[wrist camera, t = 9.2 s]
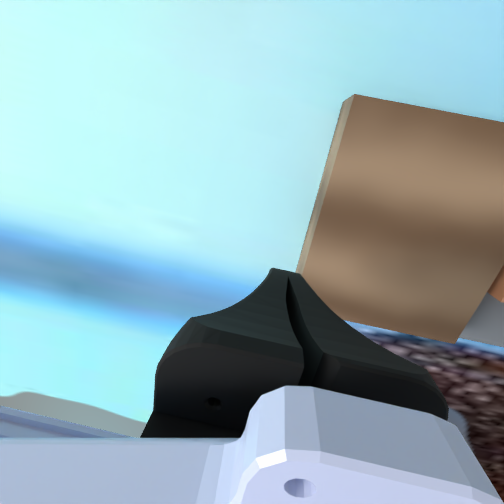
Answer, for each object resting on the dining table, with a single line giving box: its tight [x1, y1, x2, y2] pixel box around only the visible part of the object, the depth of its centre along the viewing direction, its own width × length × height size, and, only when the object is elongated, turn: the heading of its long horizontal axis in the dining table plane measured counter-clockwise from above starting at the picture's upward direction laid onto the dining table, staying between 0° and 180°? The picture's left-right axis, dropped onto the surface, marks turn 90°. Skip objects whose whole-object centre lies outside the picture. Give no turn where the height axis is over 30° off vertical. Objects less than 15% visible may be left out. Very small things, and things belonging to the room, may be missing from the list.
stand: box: [296, 94, 504, 344], centre depth 18 cm, size 14×12×3 cm
